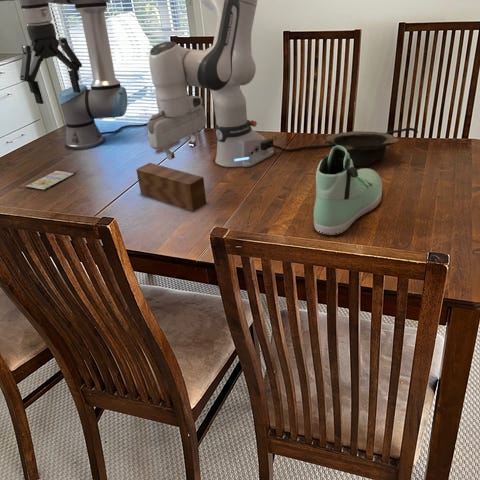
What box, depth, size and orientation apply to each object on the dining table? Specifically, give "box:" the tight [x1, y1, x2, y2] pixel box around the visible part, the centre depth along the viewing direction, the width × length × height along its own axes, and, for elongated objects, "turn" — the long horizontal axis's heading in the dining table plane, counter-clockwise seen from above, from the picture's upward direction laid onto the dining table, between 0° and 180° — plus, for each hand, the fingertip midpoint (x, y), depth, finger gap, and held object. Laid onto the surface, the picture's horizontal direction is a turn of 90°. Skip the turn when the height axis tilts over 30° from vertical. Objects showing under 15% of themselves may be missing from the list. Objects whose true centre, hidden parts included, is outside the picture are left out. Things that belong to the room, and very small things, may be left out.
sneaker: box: [313, 146, 383, 236], centre depth 133 cm, size 14×35×20 cm, turn 152°
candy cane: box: [155, 139, 181, 153], centre depth 194 cm, size 6×15×2 cm, turn 145°
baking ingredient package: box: [26, 170, 75, 190], centre depth 172 cm, size 9×1×15 cm
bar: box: [135, 162, 207, 212], centre depth 150 cm, size 23×6×9 cm, turn 52°
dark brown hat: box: [324, 130, 399, 167], centre depth 168 cm, size 25×25×9 cm
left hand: (59, 97), depth 150 cm, fingers open, 13 cm apart
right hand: (182, 152), depth 140 cm, fingers open, 8 cm apart
